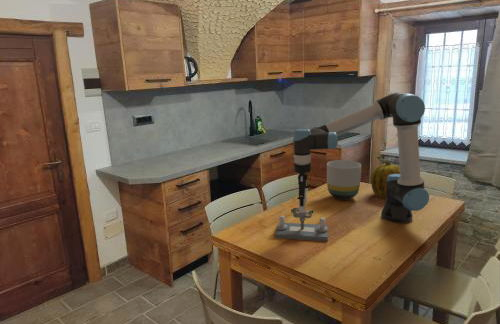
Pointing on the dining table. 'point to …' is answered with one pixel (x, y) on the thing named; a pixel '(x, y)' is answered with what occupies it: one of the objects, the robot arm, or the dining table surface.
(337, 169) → the planter
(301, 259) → the dining table surface
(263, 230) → the dining table surface
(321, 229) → the gear board
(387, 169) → the pumpkin
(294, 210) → the mechanical component
